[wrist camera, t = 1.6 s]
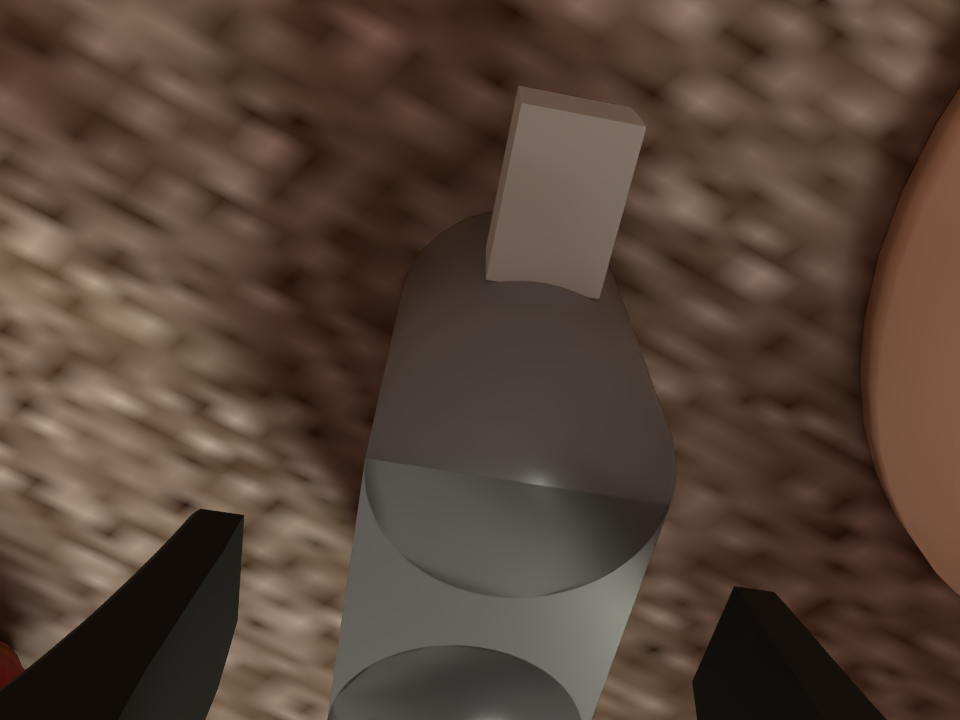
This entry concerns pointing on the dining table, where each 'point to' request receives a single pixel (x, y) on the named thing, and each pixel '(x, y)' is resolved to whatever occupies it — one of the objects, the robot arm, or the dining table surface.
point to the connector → (510, 449)
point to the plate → (920, 353)
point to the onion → (8, 665)
